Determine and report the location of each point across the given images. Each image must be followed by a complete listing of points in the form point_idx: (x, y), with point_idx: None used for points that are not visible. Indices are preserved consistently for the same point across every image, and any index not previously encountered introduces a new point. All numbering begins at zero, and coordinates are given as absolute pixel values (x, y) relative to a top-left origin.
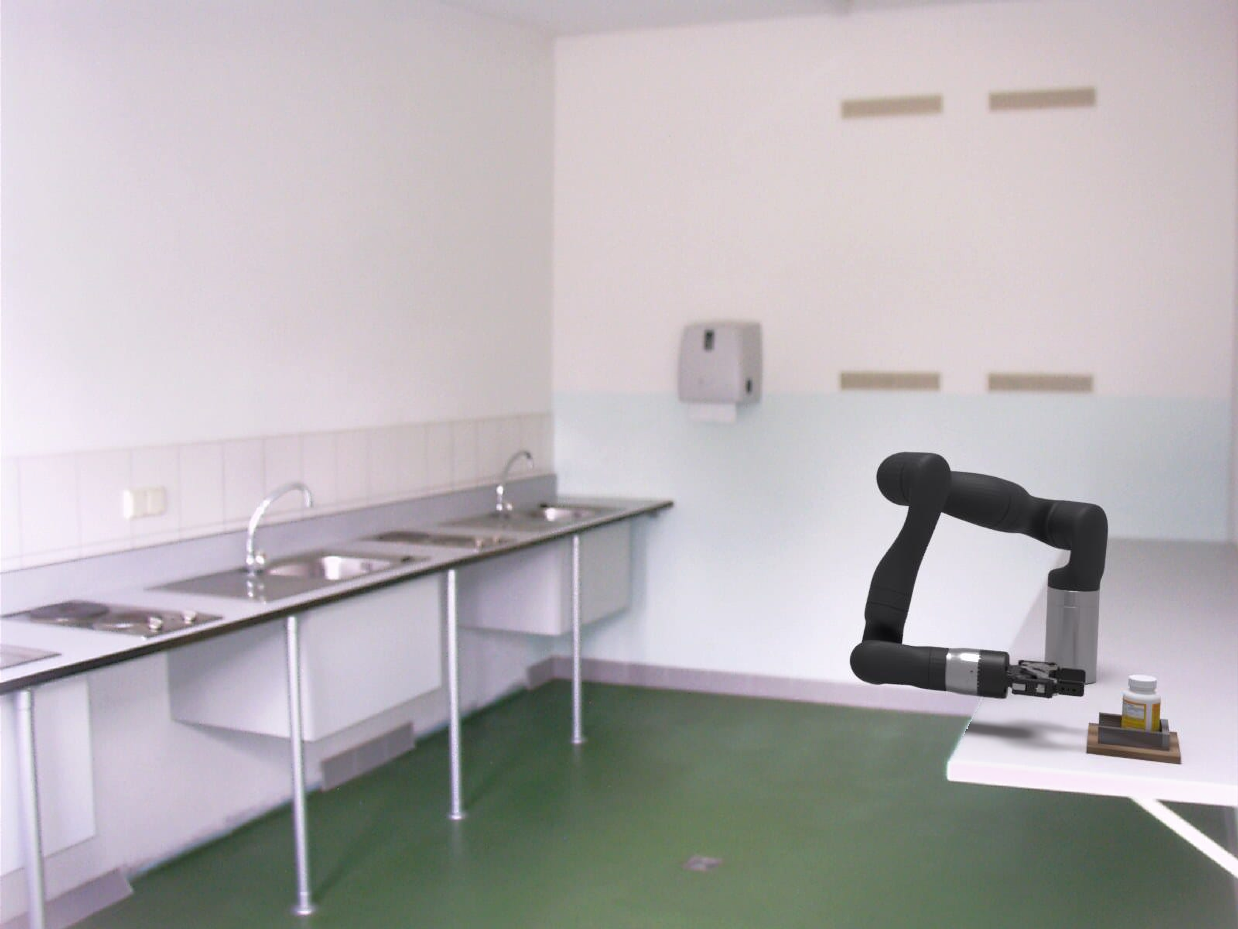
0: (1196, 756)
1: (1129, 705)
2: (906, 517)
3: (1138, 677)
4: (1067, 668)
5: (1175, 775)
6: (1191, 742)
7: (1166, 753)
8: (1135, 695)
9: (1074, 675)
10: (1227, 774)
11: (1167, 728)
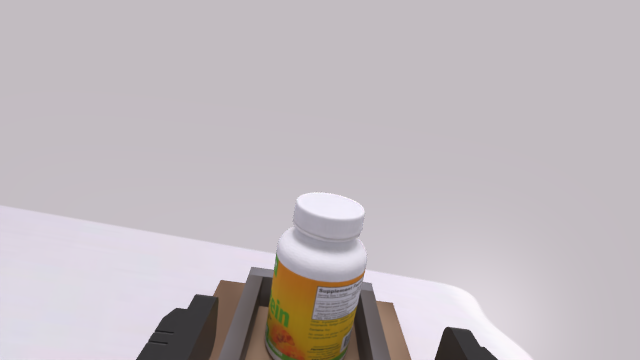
0: None
1: (357, 286)
2: None
3: (331, 207)
4: (177, 352)
5: None
6: (240, 278)
7: (383, 316)
8: (362, 253)
9: (201, 351)
10: (400, 276)
11: None
